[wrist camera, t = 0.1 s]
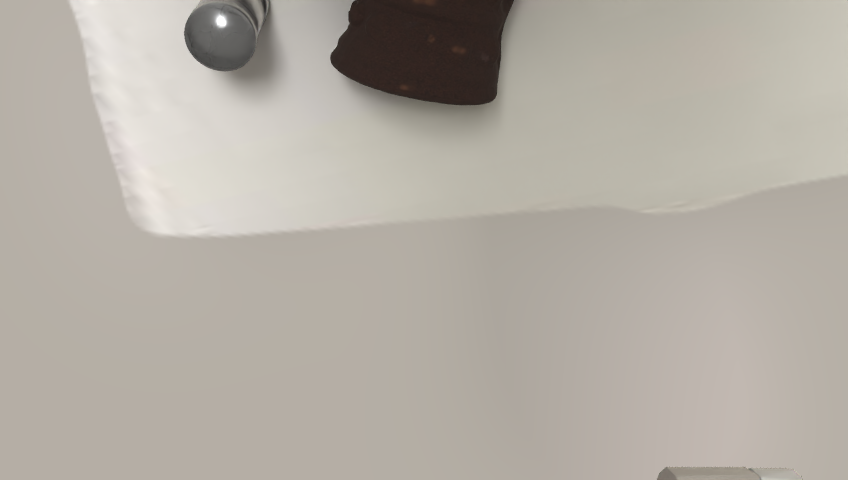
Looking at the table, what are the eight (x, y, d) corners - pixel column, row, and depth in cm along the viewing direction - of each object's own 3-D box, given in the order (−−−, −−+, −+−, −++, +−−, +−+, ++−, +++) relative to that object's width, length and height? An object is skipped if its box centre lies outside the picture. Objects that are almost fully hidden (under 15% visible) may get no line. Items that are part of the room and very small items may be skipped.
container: (203, -35, 53) (180, 2, 47) (268, -32, 53) (253, 5, 48) (209, 26, 55) (188, 69, 50) (271, 30, 56) (257, 72, 50)
